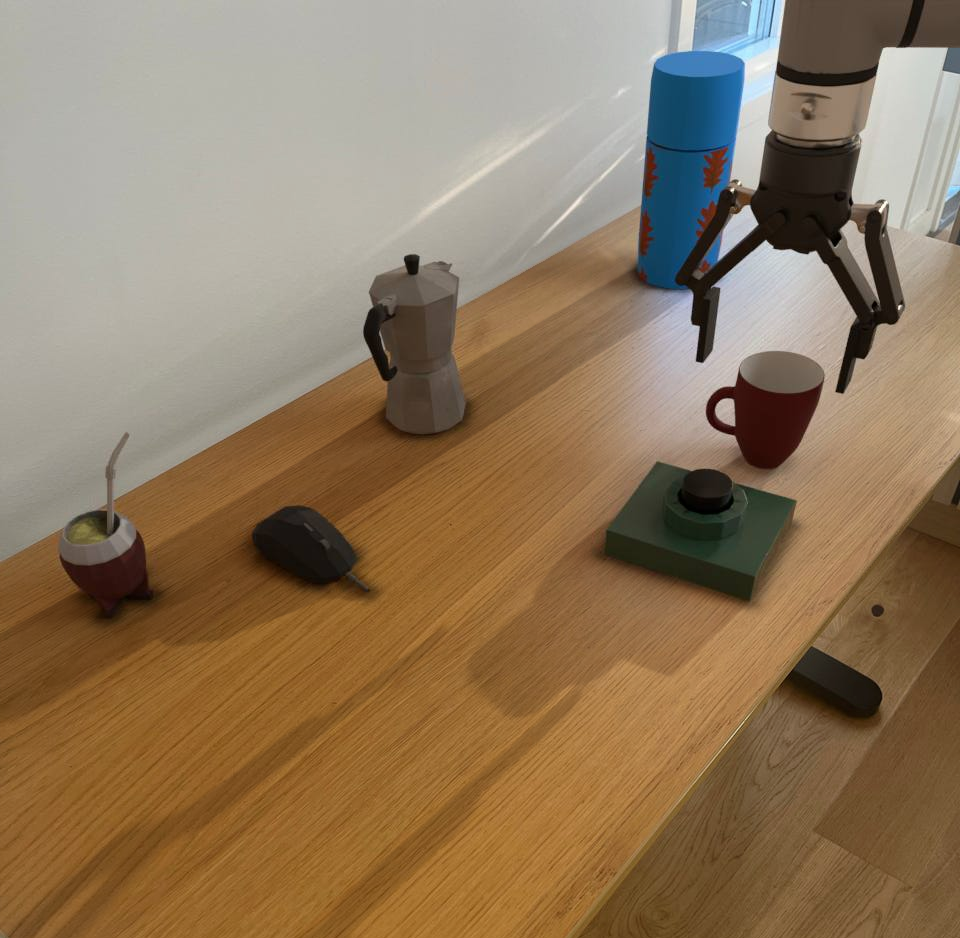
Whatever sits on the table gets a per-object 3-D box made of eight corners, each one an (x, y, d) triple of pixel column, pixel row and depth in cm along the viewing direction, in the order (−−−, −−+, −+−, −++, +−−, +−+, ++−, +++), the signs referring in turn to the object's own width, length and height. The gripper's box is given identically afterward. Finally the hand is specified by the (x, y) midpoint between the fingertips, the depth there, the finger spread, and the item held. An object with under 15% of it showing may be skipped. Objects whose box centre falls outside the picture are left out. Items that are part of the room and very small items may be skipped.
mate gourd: (69, 618, 85) (2, 483, 74) (105, 561, 91) (47, 427, 80) (147, 624, 84) (90, 488, 73) (179, 566, 90) (130, 431, 79)
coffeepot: (422, 375, 112) (407, 222, 99) (491, 394, 109) (485, 237, 96) (347, 442, 103) (320, 282, 90) (419, 464, 100) (402, 302, 87)
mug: (698, 476, 96) (711, 389, 89) (700, 432, 102) (713, 346, 94) (805, 484, 94) (827, 396, 87) (802, 439, 100) (822, 353, 93)
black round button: (736, 494, 86) (739, 476, 85) (719, 521, 84) (722, 503, 82) (690, 481, 88) (693, 463, 87) (673, 507, 85) (675, 489, 84)
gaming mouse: (343, 610, 84) (336, 577, 82) (241, 543, 92) (231, 510, 89) (393, 574, 88) (388, 541, 85) (290, 512, 95) (283, 479, 92)
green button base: (791, 525, 90) (801, 482, 87) (749, 602, 83) (759, 559, 79) (654, 485, 95) (658, 443, 92) (604, 554, 88) (607, 512, 85)
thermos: (622, 263, 131) (636, 58, 113) (691, 248, 133) (715, 45, 115) (660, 296, 124) (681, 82, 106) (732, 280, 126) (764, 68, 108)
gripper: (651, 129, 78) (635, 361, 93) (971, 168, 69) (896, 420, 84) (684, 102, 83) (664, 328, 98) (989, 134, 73) (915, 380, 88)
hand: (771, 371), depth 91 cm, fingers open, 13 cm apart
